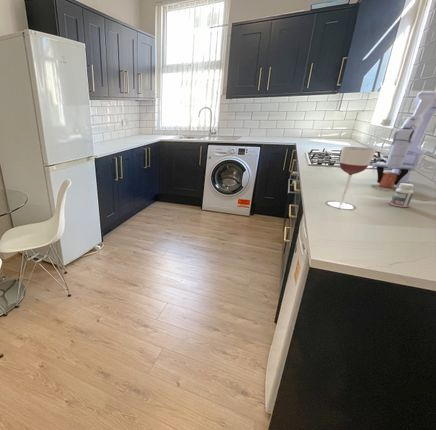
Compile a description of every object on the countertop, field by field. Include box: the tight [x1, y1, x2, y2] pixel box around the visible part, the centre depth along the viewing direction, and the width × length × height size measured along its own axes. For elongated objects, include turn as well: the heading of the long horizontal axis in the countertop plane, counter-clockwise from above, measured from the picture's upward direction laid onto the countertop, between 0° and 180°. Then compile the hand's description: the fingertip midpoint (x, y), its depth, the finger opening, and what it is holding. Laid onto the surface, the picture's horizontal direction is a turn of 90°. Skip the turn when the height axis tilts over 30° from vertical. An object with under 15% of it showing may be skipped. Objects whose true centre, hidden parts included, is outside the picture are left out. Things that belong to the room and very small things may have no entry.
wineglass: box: [327, 146, 377, 210], centre depth 110 cm, size 9×10×23 cm
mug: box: [377, 171, 398, 189], centre depth 135 cm, size 8×6×7 cm
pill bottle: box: [390, 183, 415, 208], centre depth 113 cm, size 5×5×9 cm
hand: (386, 183), depth 136 cm, fingers closed on mug, 6 cm apart
